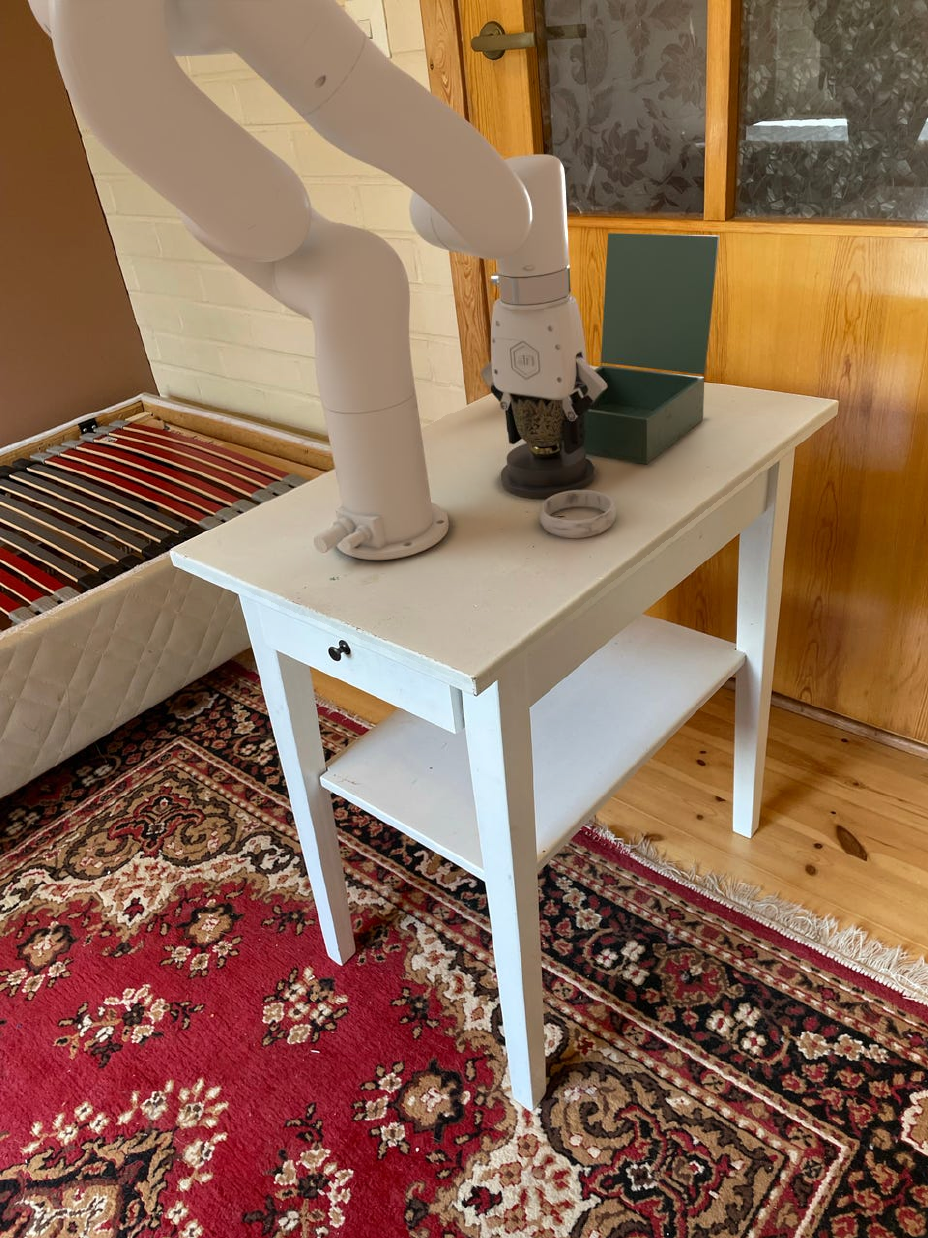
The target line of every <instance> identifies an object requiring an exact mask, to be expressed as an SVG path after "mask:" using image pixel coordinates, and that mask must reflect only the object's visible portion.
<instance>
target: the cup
mask: <svg viewBox="0 0 928 1238" xmlns="http://www.w3.org/2000/svg"><path fill="white" fill-rule="evenodd" d="M509 395H510V400H511V405H512V410H513V414H514V419H515V423H516V427H517V430H518V433H519V435H520V436H521V438H522V439H521V440H523V442H525V443H528V444H530V445H531V447H530V451H531V453H532V454H533V455H534V456H535V457H537V458H542V459H547V458H553V457H555V456H557V455H559V454H560V452H561V450H562V444H561V442H562V441H564V438H563V421H564V420H565V419H567V416H566V414H565V412H564V410H563V408H562V400H550V399H542V398H534V397H527V396H521V395H515V396H514V397H513V395H512V394H509ZM570 398H571V400H572V402H573V401H574V394H573V397H572V395H570ZM573 404H574V402H573ZM574 406H575V404H574Z"/></svg>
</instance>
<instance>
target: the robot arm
mask: <svg viewBox="0 0 928 1238" xmlns="http://www.w3.org/2000/svg"><path fill="white" fill-rule="evenodd" d="M27 1H28V5H29V8H30V10H31V13H32V14H33V16H34V18H35V20H36V21H37V23H38V25H39V26H40V27H41V29H42V30H43V32H45V34H47V36H49V37H50V39H51V40H52V46H53V51H54V55H55V60H56V62H57V66H58V69H59V72H60V75H61V79H62V81H63V83H64V86H65V89H66V90H67V91H66V92H67V93H68V94H69V97H70V99H71V101H72V104H73V105H74V108H75V109H76V112H77V113H78V115H79V116H80V118H81V120H82V121H83V122H84V124H85V126H86V127H87V128H88V130H89V131H90V133H91V134H92V135H93V136H94V137H95V138H96V140H98V142H99V143H100V144H101V145H102V146H103V147H104V148H105V149H106V150H107V151H108V152H109V153H110V154H111V155H112V156H113V157H114V158H115V159H117V160H118V161H119V162H120V163H121V164H122V165H123V166H125V167H126V168H127V169H128V170H129V171H131V172H133V174H134V175H136V176H137V178H140V179H141V180H142V181H143V183H145V184H147V185H148V186H149V187H150V188H151V189H153V190H154V191H155V192H156V193H157V194H159V196H161V197H162V198H164V199H165V200H166V201H168V202H169V203H170V204H171V205H172V206H174V207H175V208H176V210H177V214H178V215H179V218H180V220H181V222H182V224H183V225H184V227H185V228H186V230H187V231H188V232H189V233H190V234H191V236H192V237H193V238H194V239H195V240H196V241H198V243H200V244H201V246H203V247H204V248H206V249H207V250H208V251H210V252H211V253H212V254H214V256H216V257H217V258H219V259H220V260H222V261H223V262H224V263H226V264H227V265H228V266H229V267H231V268H232V269H233V270H235V271H236V272H238V273H239V274H240V275H241V276H243V277H244V278H246V279H247V280H249V281H250V282H251V283H252V284H254V285H255V286H257V287H258V288H259V289H261V290H262V291H263V292H264V293H266V294H267V295H269V296H270V297H271V298H273V299H274V300H276V301H277V302H279V303H280V304H281V305H283V306H284V307H286V308H287V309H289V310H291V311H292V312H294V313H296V314H297V315H299V316H302V317H304V318H305V319H308V320H310V321H311V322H312V326H313V329H314V358H315V359H314V365H315V374H316V380H317V381H316V382H317V387H318V393H319V397H320V402H321V403H320V404H321V406H322V410H323V411H322V412H323V415H324V421H325V425H326V431H327V436H328V440H329V446H330V451H331V456H332V461H333V466H334V471H335V476H336V481H337V486H338V491H339V496H340V501H341V505H342V506H339V507H338V508H336V509H335V514H336V520H335V521H334V522H333V524H332V527H330V528H328V529H326V530H324V531H322V532H321V533H320V534H319V533H318V534H317V535H316V536H315V537H313V544H314V547H315V548H316V550H317V551H318V552H319V553H322V554H325V553H328V552H329V551H331V550H332V549H334V548H335V547H337V549H338V550H339V551H340V552H341V553H343V554H344V555H347V556H349V557H351V558H356V559H359V560H365V561H385V560H386V561H387V560H395V559H402V558H406V557H409V556H410V557H411V556H413V555H416V554H419V553H421V552H424V551H426V550H428V549H429V548H432V547H433V546H435V545H437V543H439V542H440V541H441V540H442V539H443V538H444V537H445V536H446V534H447V533H448V532H449V527H450V523H449V516H448V514H447V512H446V510H444V508H442V507H441V506H440V505H438V504H436V503H433V502H432V498H431V497H432V496H431V489H430V483H429V477H428V469H427V463H426V454H425V447H424V440H423V434H422V427H421V419H420V413H419V405H418V399H417V392H416V387H415V386H416V385H415V380H414V379H415V378H414V371H413V363H412V356H411V344H410V314H411V313H410V309H411V293H410V282H409V277H408V274H407V271H406V268H405V265H404V263H403V261H402V259H401V257H400V256H399V254H398V252H397V251H396V250H395V248H393V247H392V246H391V245H390V244H389V242H387V241H386V240H385V239H384V238H382V237H381V236H380V235H377V234H376V233H375V232H372V231H370V230H368V229H365V228H361V227H359V226H353V225H350V224H346V223H342V222H335V221H331V220H330V219H328V218H326V217H325V216H324V215H322V214H321V213H320V212H319V211H318V210H316V209H315V208H314V207H312V205H311V200H310V196H309V193H308V191H307V189H306V187H305V185H304V183H303V181H302V180H301V178H300V177H299V176H298V174H297V172H295V170H294V169H293V168H292V167H291V166H290V165H289V164H288V163H287V162H286V161H285V160H284V159H282V158H281V157H280V156H278V155H277V154H275V153H274V152H273V151H272V150H271V149H269V148H268V147H267V146H266V145H264V144H263V143H262V142H261V141H259V140H258V139H257V138H256V137H255V136H254V135H252V134H251V133H250V132H249V131H247V130H246V129H245V128H244V127H243V126H242V125H240V124H239V123H238V122H237V121H236V120H234V119H233V118H232V117H231V116H229V114H227V113H226V112H225V111H224V110H223V109H222V108H220V107H219V105H217V104H216V103H215V102H214V101H213V100H212V99H211V98H210V96H208V95H207V94H206V93H205V92H203V90H201V89H200V87H199V86H197V85H196V83H195V82H194V81H193V80H192V79H191V78H190V77H189V76H188V75H187V73H186V72H185V71H184V69H183V68H182V66H180V64H179V61H178V60H177V58H176V57H198V56H214V55H216V56H217V55H231V54H236V55H237V56H238V57H239V58H240V59H241V60H243V62H244V63H245V64H247V65H248V66H249V67H250V68H251V69H252V71H254V73H256V74H257V76H259V77H260V78H261V79H262V80H263V81H264V82H265V83H267V85H268V86H270V87H271V88H272V89H273V90H274V92H276V94H278V95H279V96H280V97H281V99H283V100H284V101H285V102H286V103H287V104H288V105H289V106H290V107H291V108H292V109H293V110H294V111H295V112H296V113H297V114H298V115H299V116H300V117H301V118H302V119H303V120H304V121H305V122H306V123H307V124H308V125H309V126H310V127H311V128H312V129H313V130H314V131H315V132H316V133H317V134H318V135H319V136H320V137H321V138H323V139H324V140H325V141H326V142H327V143H329V144H330V145H332V146H334V147H335V148H336V149H338V150H340V151H341V152H343V153H344V154H346V155H348V156H350V157H351V158H354V159H355V160H357V161H359V162H362V163H364V164H366V165H369V166H371V167H373V168H376V169H378V170H380V171H381V172H384V173H385V174H387V175H389V176H391V177H392V178H394V179H395V180H397V181H399V182H400V183H402V184H403V185H405V186H406V187H407V188H409V189H410V190H412V192H411V196H410V198H409V199H410V200H409V208H408V211H409V217H410V221H411V224H412V227H413V229H414V230H415V231H416V233H417V234H418V236H419V237H420V238H421V239H423V240H424V241H425V242H427V243H428V244H430V245H431V246H433V247H436V248H438V249H443V250H446V251H450V252H454V253H458V254H464V255H468V256H470V257H471V256H472V257H475V258H479V259H483V260H489V261H494V260H495V261H496V269H497V271H496V272H493V273H492V274H491V277H490V283H491V285H492V286H494V287H497V288H498V294H499V298H497V299H495V300H494V302H493V307H492V315H491V327H490V358H491V359H490V361H489V362H488V363H487V364H486V365H485V367H483V368H482V369H481V371H480V376H481V378H482V379H483V381H484V382H485V383H486V385H487V386H488V388H490V392H491V394H492V395H493V396H494V398H496V400H497V401H498V402H499V407H500V409H501V410H502V411H504V413H505V422H506V423H505V424H506V431H507V435H508V443H509V444H510V445H515V444H517V443H519V442H520V441H522V440H523V439H522V438H521V436H520V435H519V433H518V430H517V427H516V423H515V419H514V414H513V410H512V405H511V400H510V395H509V394H512V395H513V397H514V396H515V395H521V396H527V397H534V398H542V399H550V400H562V408H563V410H564V412H565V414H566V416H567V419H565V420H564V421H563V438H564V451H565V453H566V454H572V453H573V452H575V451H576V450H577V449H579V448H580V447H581V446H583V444H584V441H585V424H584V414H585V413H586V412H587V411H588V410H589V409H590V408H591V407H592V406H593V405H594V404H595V403H596V401H597V399H598V398H599V397H600V396H601V395H602V394H603V392H604V391H605V390H606V389H607V383H606V382H605V381H604V380H603V379H602V378H601V377H600V376H599V375H598V374H597V373H596V372H595V371H594V370H595V369H593V367H592V366H591V365H590V364H589V363H588V361H587V360H588V357H587V348H586V339H585V333H584V326H583V322H582V316H581V313H580V309H579V305H578V300H577V297H575V296H573V295H572V288H571V287H572V286H571V285H572V284H571V269H570V252H569V249H570V248H569V232H568V231H569V230H568V215H567V214H568V213H567V194H566V193H567V192H566V175H565V168H564V166H563V163H562V161H561V159H559V158H558V157H556V155H551V154H543V153H542V154H541V153H539V154H535V153H534V154H525V155H518V156H513V157H509V158H505V159H504V158H503V156H502V155H501V154H500V153H499V152H498V151H497V149H496V148H495V147H494V146H493V145H492V144H491V143H490V142H489V140H487V138H486V137H485V136H484V135H483V134H482V133H481V132H480V131H479V130H478V129H477V128H476V127H475V126H474V125H472V124H471V123H470V122H469V121H468V120H467V119H466V118H464V117H463V116H462V115H461V114H459V113H458V112H457V111H456V110H454V109H453V108H452V107H451V106H449V105H448V104H447V103H446V102H444V101H443V100H441V99H440V98H439V97H437V96H436V95H435V94H433V93H432V92H431V91H430V90H429V89H428V88H426V87H425V85H423V84H421V83H420V82H419V81H418V80H416V79H415V78H414V77H412V76H411V75H409V74H408V72H405V70H403V69H401V68H400V67H398V66H397V65H396V64H394V63H393V62H392V61H391V60H390V59H389V58H388V57H387V55H385V53H384V52H383V51H381V49H380V48H379V47H378V46H377V45H376V43H374V42H373V40H372V39H371V38H370V37H369V36H368V35H367V34H366V32H364V30H362V29H361V27H360V26H359V25H358V24H357V23H356V22H355V20H353V19H352V17H351V16H350V15H349V14H348V13H347V12H346V10H345V9H344V8H343V7H342V6H341V5H340V4H339V3H338V1H336V0H27ZM585 385H586V386H587V387H588V391H587V393H586V394H585V396H583V394H582V392H581V390H580V388H581V387H583V386H585ZM573 394H574V401H573V402H574V404H575V406H574V404H573V402H572V400H571V398H570V395H572V397H573Z"/></svg>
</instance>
